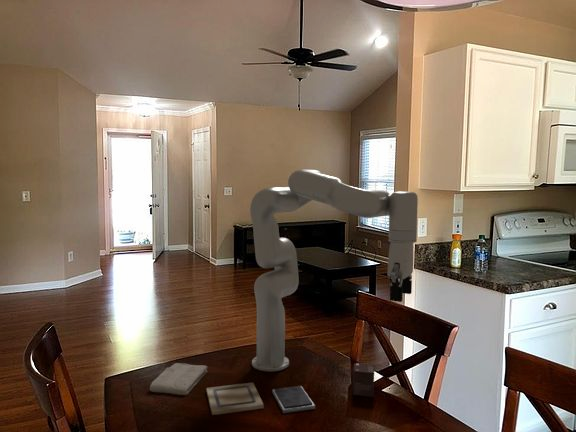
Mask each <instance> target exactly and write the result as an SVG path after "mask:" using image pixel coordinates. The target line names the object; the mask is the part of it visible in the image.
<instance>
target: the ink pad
mask: <svg viewBox="0 0 576 432" xmlns="http://www.w3.org/2000/svg"><path fill="white" fill-rule="evenodd" d="M271 392H272V395H273V397H274V399H275V401H276V402H277V404H278V406H279V408H280V409H281V412H282V413H283V414H287V413H294V412H295V413H296V412H304V411H309V410H310V411H312V410H315V409H316V404H315V403H314V401H312V399H311V397H309V395H308V393H307V392H306V391H305V389H304V387H303V386H302V385H297V386H287V387H280V388H273V389H272V391H271Z"/></svg>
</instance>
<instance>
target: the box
mask: <svg viewBox="0 0 576 432" xmlns="http://www.w3.org/2000/svg"><path fill="white" fill-rule="evenodd" d="M352 390H353V391H352V395H354V396H355V395H356V396H361V397H362V396H363V397H365V396H366V397H374V393H375V365H374V364H371V363H370V364H367V363H354V364H353V383H352Z"/></svg>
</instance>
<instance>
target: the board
mask: <svg viewBox="0 0 576 432" xmlns="http://www.w3.org/2000/svg"><path fill="white" fill-rule="evenodd" d="M206 394H207V399H208V404H209V407H210V411H211V415H212V416H214V415H215V416H216V415H217V416H218V415H222V414H223V415H224V414H229V413H231V414H232V413H237V412H245V411H253V410H260V409H264V408H265V406H264V402H263V400H262V399H261V397H260V394H259V392H258V390H257V388H256V385H255V384H254V382H248V383H247V382H246V383H245V382H244V383H236V384H229V385H221V386H211V387H206Z"/></svg>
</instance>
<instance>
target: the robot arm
mask: <svg viewBox="0 0 576 432" xmlns="http://www.w3.org/2000/svg"><path fill="white" fill-rule="evenodd" d="M287 185H288V186H281V187H280V186H273V187H272V186H271V187H266V188H262V189H261V190H259V191H257V193H256V194H255V195H254V196H253V198H252V199H251V202H250V208H249V210H250V211H249V212H250V218H251V223H252V229H253V244H254V252H255V253H254V254H255V261H256V263H257V265H258V266H259V267H261V268H263V269H272V268H274V270H271V271H268V272H264V273H263V274H261V275H260V276H258V277H257V278H256V280H255V282H254V286H253V291H254V297H255V298H254V299H255V302H256V303H255V305H256V356H255V357H254V358H252V360H251V366H252V367H253V368H254V369H256V370H258V371H262V372H271V373H272V372H279V371H283V370H285V369H287V368H288V367H289V366H290V360H289V358H288V357H286V356H285V355H286V354H285V353H286V352H285V350H286V349H285V347H286V344H285V343H286V340H285V339H286V312H285V311H286V310H285V306H284V305H283V301H282V298H286V297H287V296H290V295H292V294H294V293H295V292H296V290H298V286H299V281H300V280H299V279H300V278H299V268H298V266H299V265H298V257H297V256H298V255H297V249H296V247H295V245H294V243H293V242H292V241H291V240H290V239H289V238H287V237H280V232H279V230H280V229H279V228H280V227H279V224H278V222H277V219H276V217H275V216H274V215H275V214H278V213H280V214H281V213H290V212H291V213H292V212H294V211H296V210H297V211H298V209H300V208H302V207H303V206H305V205H307V204H308V203H310V202H312V201H316V202H318V203H322V204H324V205H328V206H330V207H332V208H334V209H336V210H337V211H338V210H339V211H341V212H344V213H347V214H350V215H354V216H357V217H360V218H365V219H373V218H381V217H386V216H387V217H388V242H389V243H390V244H389V250H388V260H387V274H386V275H387V277H388V278H390V285H389V286H390V290H389V291H390V292H389V293H390V295H389V299H390V301H391V302H397V303H398V302H399V303H402V302H403V294H404V295H405V294H406V295H411V294H412V292H413V291H412V289H413V288H412V287H413V285H412V284H413V283H412V282H413V275H412V274H413V272H414V256H415V255H414V243H417V241H418V240H417V238H418V237H417V236H418V235H417V234H418V230H417V229H418V206H419V205H418V204H419V203H418V202H419V201H418V200H419V199H418V198H419V197H418V194H417V193H416V192H413V191H387V190H379V189H378V190H377V189H376V190H374V189H373V190H372V189H371V190H368V189H363V188H358V187H354V186H351V185H348V184H345V183H343V182H342V179H340V178H338V177H336V176H332V175H331V176H330V175H327V174H324V173H323V172H322V171H319V170H317V169H304V168H303V169H297V170H295V171H294V172H292V173H290V175H289V177H288V180H287Z"/></svg>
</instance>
